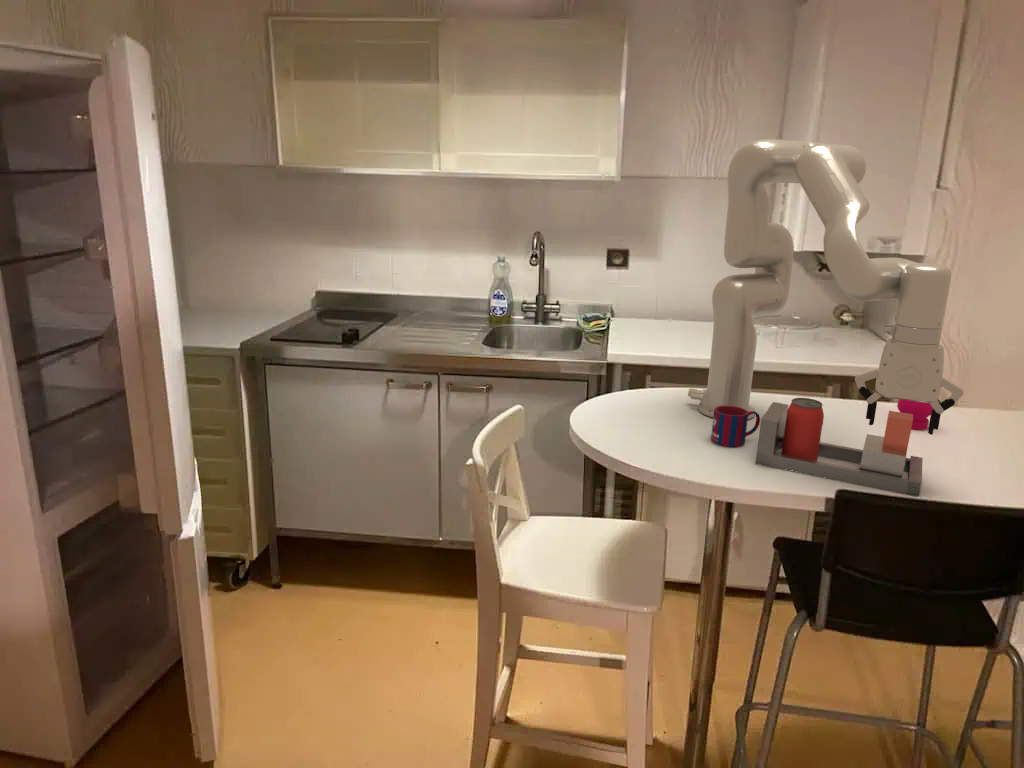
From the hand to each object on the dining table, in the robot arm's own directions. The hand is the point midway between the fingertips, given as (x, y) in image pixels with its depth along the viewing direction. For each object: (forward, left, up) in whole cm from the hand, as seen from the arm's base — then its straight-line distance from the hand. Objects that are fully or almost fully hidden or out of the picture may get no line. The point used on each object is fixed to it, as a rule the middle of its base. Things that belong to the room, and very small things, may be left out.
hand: (900, 427), depth 139 cm
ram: (-2, 0, -10) cm, 10 cm away
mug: (-29, +4, -10) cm, 31 cm away
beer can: (-16, 0, -10) cm, 19 cm away
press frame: (-9, 0, -10) cm, 14 cm away
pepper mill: (+3, +36, -10) cm, 38 cm away
